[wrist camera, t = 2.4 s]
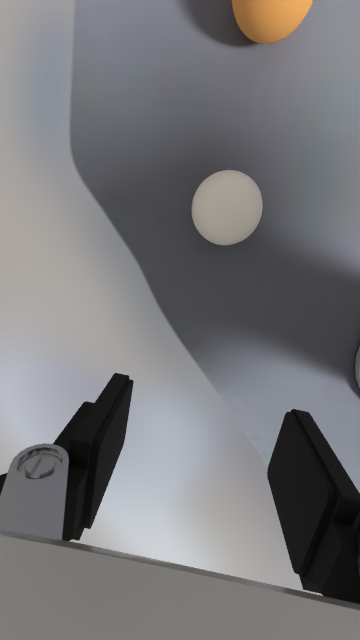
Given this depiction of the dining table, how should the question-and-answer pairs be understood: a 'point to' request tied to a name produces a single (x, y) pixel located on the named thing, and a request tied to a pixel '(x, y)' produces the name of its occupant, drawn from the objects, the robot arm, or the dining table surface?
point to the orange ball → (269, 18)
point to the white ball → (227, 207)
